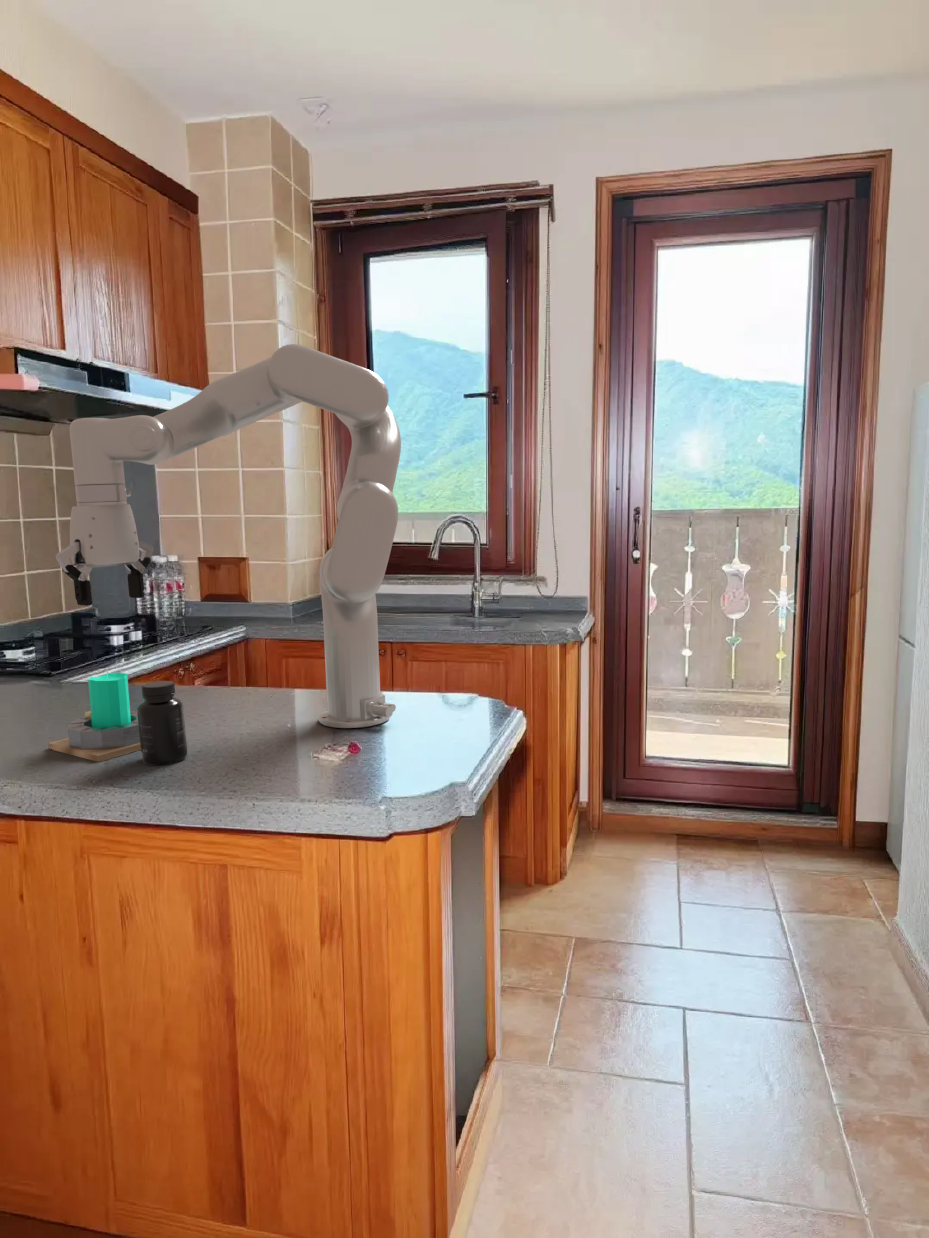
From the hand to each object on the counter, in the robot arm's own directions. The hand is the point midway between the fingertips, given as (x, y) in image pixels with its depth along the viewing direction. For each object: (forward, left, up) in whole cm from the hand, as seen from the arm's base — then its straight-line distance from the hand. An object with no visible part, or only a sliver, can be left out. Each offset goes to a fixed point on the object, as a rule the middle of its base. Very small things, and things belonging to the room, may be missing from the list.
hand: (111, 601), depth 144 cm
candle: (-1, +2, -23) cm, 23 cm away
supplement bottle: (-15, +3, -24) cm, 29 cm away
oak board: (-1, +3, -24) cm, 24 cm away
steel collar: (-1, +3, -24) cm, 24 cm away
